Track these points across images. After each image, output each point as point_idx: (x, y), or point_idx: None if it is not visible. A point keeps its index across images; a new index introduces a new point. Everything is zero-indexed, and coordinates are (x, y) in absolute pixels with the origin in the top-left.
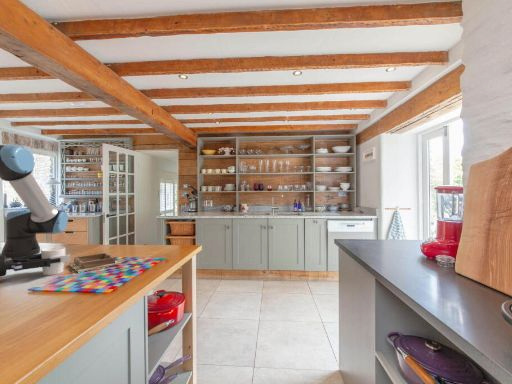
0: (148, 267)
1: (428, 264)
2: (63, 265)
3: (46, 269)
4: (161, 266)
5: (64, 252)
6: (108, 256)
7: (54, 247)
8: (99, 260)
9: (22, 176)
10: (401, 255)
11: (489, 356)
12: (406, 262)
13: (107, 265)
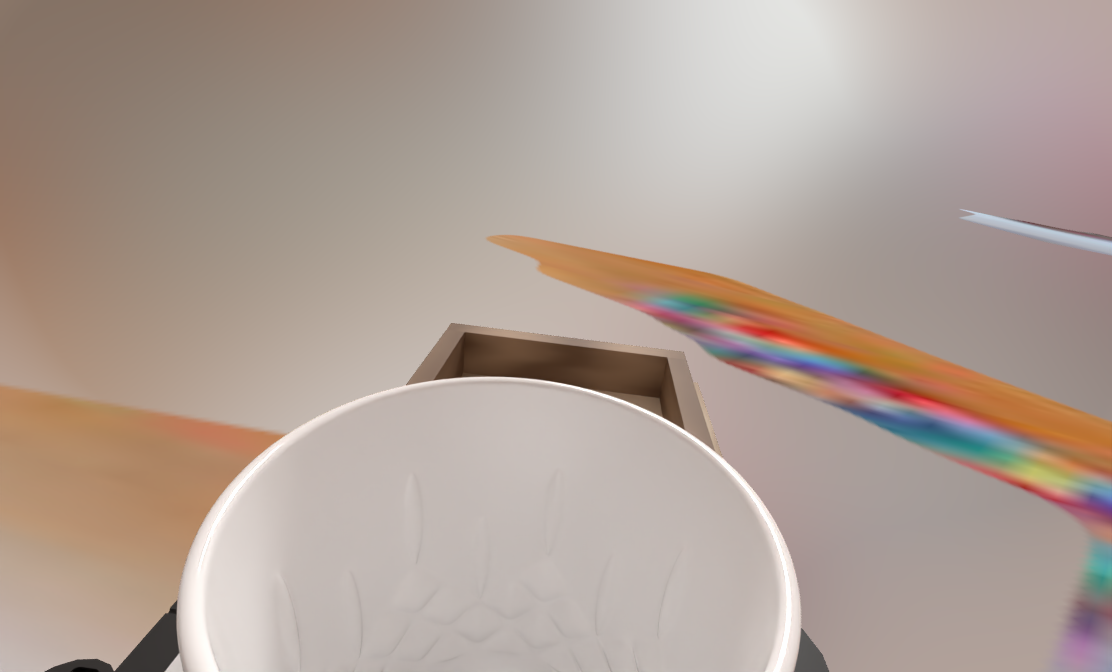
0: (845, 366)
1: (1067, 231)
2: (571, 661)
3: None
4: (854, 344)
5: (616, 477)
6: (574, 351)
7: (297, 447)
8: (701, 412)
9: None
10: (977, 216)
11: None
12: (1041, 230)
13: (712, 430)
